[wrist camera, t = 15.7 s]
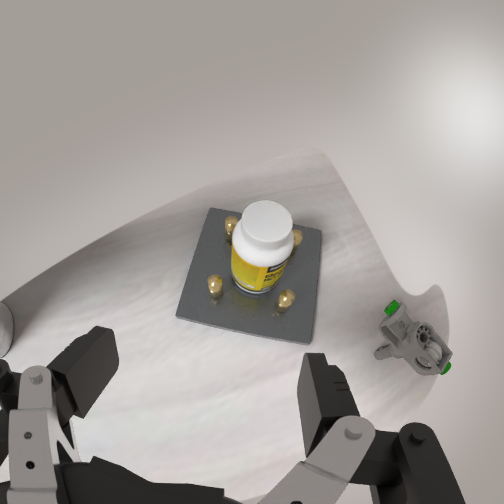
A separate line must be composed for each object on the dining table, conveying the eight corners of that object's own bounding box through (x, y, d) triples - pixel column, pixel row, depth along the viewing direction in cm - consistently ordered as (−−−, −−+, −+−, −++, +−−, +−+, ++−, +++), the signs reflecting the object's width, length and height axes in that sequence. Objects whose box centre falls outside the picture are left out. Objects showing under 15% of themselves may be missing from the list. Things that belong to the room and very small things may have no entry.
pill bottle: (264, 304, 32) (280, 263, 23) (221, 277, 33) (218, 227, 24) (289, 265, 35) (311, 213, 25) (248, 241, 36) (255, 184, 27)
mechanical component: (361, 320, 33) (401, 292, 24) (408, 370, 30) (457, 356, 21) (347, 335, 32) (387, 312, 23) (396, 386, 29) (445, 378, 20)
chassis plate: (176, 317, 32) (169, 306, 28) (210, 211, 39) (209, 191, 35) (307, 345, 31) (319, 338, 27) (319, 234, 39) (328, 216, 35)
